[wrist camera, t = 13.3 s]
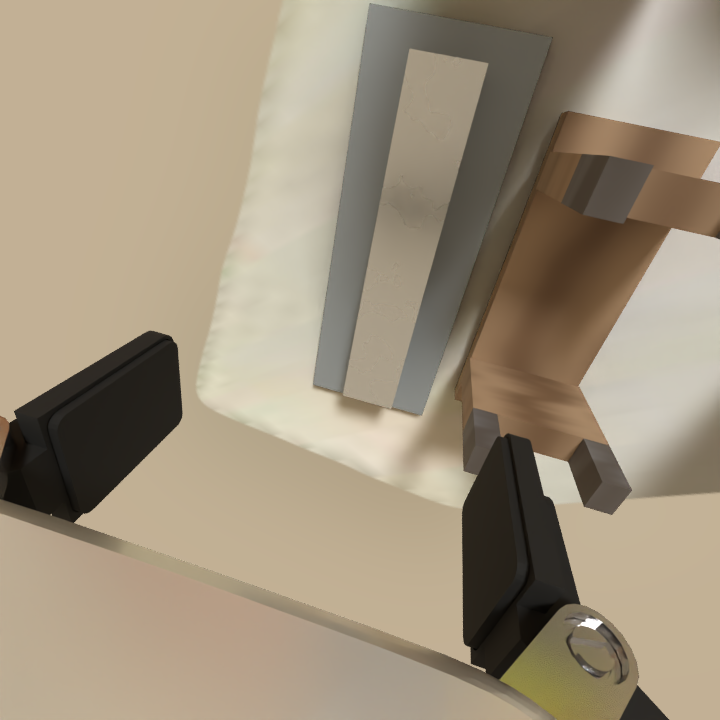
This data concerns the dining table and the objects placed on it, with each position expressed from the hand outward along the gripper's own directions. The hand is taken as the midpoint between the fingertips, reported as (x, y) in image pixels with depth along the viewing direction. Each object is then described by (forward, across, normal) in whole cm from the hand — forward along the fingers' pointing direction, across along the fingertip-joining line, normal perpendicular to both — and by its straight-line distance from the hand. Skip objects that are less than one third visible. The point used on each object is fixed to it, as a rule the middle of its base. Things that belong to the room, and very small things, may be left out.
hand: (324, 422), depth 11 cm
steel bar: (+19, 0, 0) cm, 19 cm away
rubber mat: (+20, 0, 0) cm, 20 cm away
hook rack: (+20, -11, 0) cm, 23 cm away
